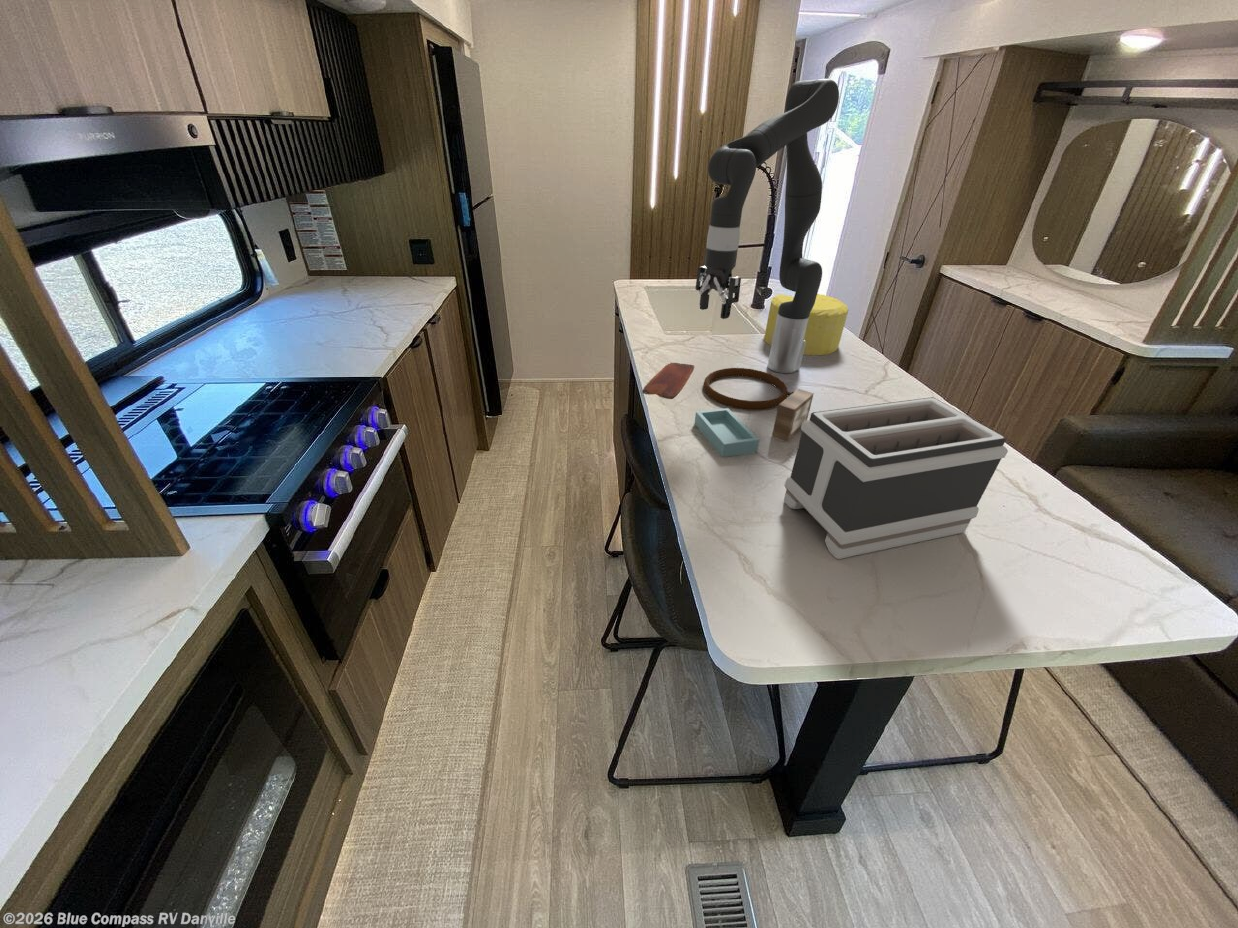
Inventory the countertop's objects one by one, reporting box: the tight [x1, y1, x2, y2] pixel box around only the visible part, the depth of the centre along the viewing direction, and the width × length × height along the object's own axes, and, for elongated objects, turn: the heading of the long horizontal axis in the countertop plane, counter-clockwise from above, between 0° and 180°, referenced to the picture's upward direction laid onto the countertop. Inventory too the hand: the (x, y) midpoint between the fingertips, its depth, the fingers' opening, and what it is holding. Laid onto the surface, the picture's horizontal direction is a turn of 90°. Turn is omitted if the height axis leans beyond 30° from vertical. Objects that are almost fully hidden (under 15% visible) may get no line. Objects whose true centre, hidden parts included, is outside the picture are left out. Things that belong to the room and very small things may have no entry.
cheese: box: [763, 293, 849, 356], centre depth 183 cm, size 26×26×15 cm
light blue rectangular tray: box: [694, 407, 760, 458], centre depth 126 cm, size 16×9×4 cm, turn 16°
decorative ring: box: [702, 367, 795, 411], centre depth 149 cm, size 24×3×30 cm
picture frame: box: [771, 388, 815, 443], centre depth 129 cm, size 12×4×9 cm, turn 141°
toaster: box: [783, 397, 1008, 560], centre depth 97 cm, size 18×34×21 cm, turn 107°
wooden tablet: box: [642, 362, 695, 399], centre depth 156 cm, size 27×10×2 cm, turn 157°
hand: (713, 313), depth 132 cm, fingers open, 8 cm apart
